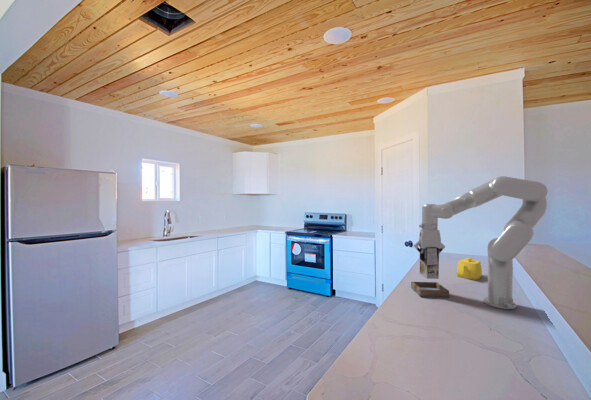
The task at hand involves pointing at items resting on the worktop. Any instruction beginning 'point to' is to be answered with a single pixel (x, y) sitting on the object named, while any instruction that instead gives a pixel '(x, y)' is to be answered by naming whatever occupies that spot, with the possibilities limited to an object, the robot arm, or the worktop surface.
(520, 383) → the worktop surface
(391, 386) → the worktop surface
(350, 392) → the worktop surface
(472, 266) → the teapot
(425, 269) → the coffee box
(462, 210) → the robot arm
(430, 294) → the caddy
